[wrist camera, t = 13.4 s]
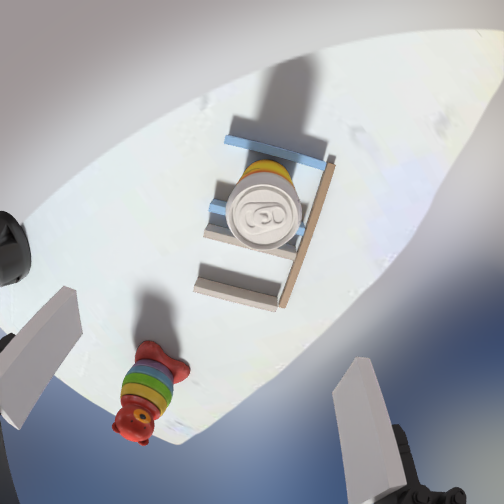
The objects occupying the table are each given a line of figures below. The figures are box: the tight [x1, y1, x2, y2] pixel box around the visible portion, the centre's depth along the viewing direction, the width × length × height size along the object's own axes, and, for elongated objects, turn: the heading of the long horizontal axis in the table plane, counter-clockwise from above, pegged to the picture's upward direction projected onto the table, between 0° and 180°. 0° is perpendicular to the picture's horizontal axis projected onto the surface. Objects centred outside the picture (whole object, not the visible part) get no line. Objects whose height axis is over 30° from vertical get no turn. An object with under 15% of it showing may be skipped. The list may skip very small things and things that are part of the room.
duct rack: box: [193, 135, 336, 312], centre depth 36 cm, size 14×22×2 cm, turn 166°
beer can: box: [225, 159, 302, 250], centre depth 28 cm, size 6×6×15 cm
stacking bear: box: [112, 341, 190, 446], centre depth 42 cm, size 11×10×18 cm
